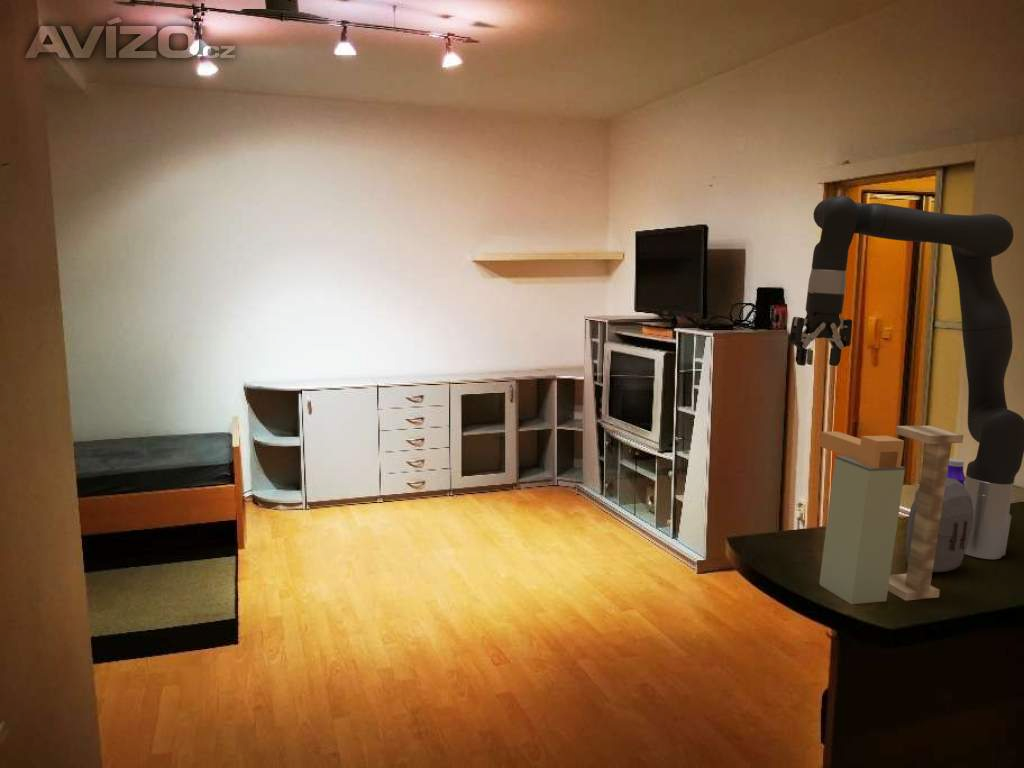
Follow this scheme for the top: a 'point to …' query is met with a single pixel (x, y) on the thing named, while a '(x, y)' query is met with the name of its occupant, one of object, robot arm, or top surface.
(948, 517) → the soft grey pack
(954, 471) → the bottle
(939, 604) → the top surface
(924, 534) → the tan table
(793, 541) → the top surface
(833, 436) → the orange wooden block
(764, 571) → the top surface
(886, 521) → the tall grey-green pillar
